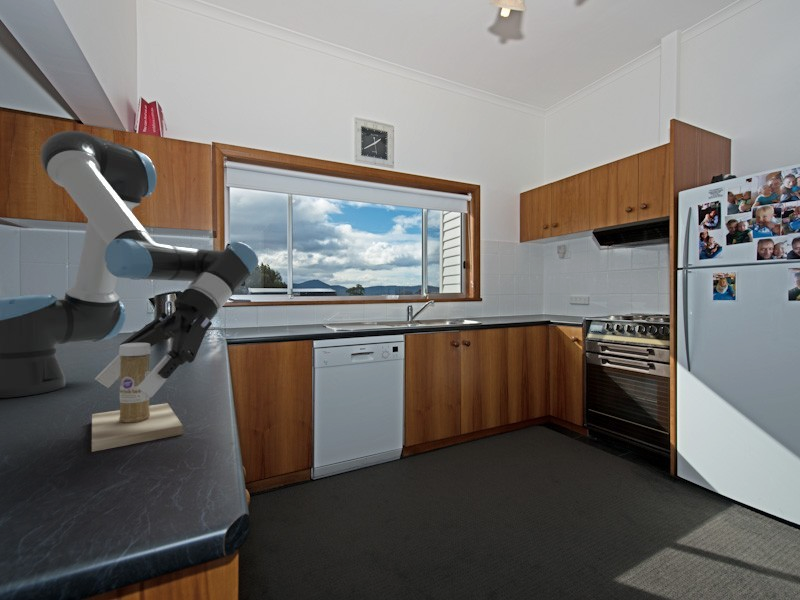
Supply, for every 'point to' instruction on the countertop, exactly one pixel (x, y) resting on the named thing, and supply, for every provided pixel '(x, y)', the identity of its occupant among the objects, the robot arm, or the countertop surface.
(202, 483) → the countertop surface
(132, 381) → the sprinkles bottle
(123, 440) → the birch board
